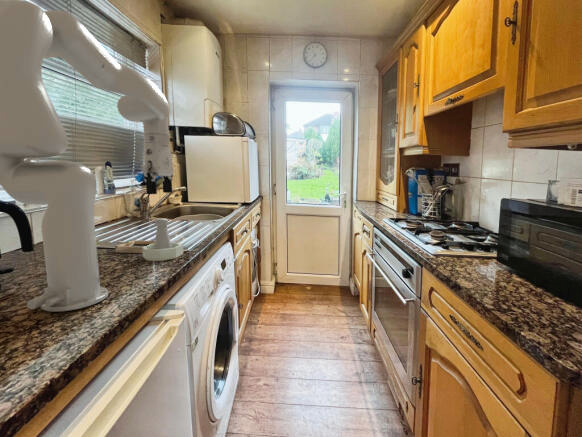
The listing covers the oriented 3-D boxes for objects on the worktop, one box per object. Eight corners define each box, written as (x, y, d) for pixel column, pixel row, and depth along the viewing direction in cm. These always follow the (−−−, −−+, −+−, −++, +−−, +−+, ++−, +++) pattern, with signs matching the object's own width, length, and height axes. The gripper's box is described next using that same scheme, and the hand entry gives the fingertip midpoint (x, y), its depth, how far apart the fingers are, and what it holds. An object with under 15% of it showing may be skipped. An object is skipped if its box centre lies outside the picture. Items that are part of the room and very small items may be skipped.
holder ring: (171, 261, 96) (170, 250, 96) (136, 260, 97) (135, 249, 97) (187, 252, 108) (187, 242, 107) (156, 251, 109) (156, 242, 109)
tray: (144, 254, 105) (143, 247, 105) (115, 253, 106) (114, 246, 106) (161, 247, 116) (160, 241, 115) (134, 246, 117) (134, 240, 117)
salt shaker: (165, 258, 99) (163, 219, 97) (150, 257, 100) (148, 219, 99) (175, 254, 105) (174, 217, 103) (161, 253, 106) (159, 217, 104)
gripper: (152, 137, 89) (156, 194, 91) (180, 144, 106) (182, 192, 108) (129, 137, 90) (133, 194, 92) (160, 144, 107) (163, 192, 109)
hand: (160, 193), depth 100 cm, fingers open, 9 cm apart
